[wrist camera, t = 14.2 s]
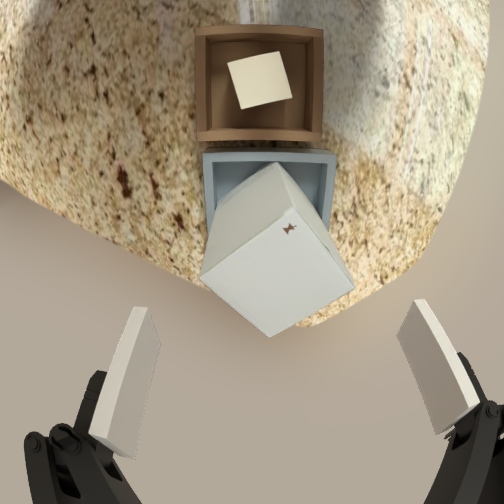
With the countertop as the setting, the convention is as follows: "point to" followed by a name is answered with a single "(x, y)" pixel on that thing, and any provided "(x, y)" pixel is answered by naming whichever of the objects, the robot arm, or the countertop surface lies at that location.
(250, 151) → the grey tray
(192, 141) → the countertop surface
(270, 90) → the cream cube
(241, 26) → the walnut box
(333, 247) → the supplement box
